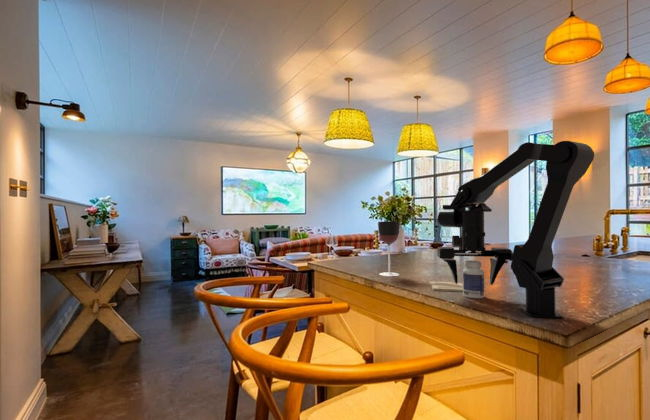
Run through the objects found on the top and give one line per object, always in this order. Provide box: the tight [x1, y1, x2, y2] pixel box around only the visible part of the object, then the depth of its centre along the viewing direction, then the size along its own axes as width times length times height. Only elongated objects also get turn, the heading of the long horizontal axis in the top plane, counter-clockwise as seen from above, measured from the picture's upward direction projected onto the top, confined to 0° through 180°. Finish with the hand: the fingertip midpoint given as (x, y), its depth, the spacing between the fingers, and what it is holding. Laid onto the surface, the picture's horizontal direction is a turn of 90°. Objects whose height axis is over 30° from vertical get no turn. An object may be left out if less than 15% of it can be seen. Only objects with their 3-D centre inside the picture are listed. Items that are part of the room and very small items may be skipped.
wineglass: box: [377, 221, 400, 277], centre depth 123 cm, size 8×9×20 cm
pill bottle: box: [462, 260, 485, 299], centre depth 90 cm, size 5×5×10 cm
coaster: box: [428, 281, 463, 293], centre depth 101 cm, size 10×10×1 cm
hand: (473, 284), depth 90 cm, fingers open, 9 cm apart
